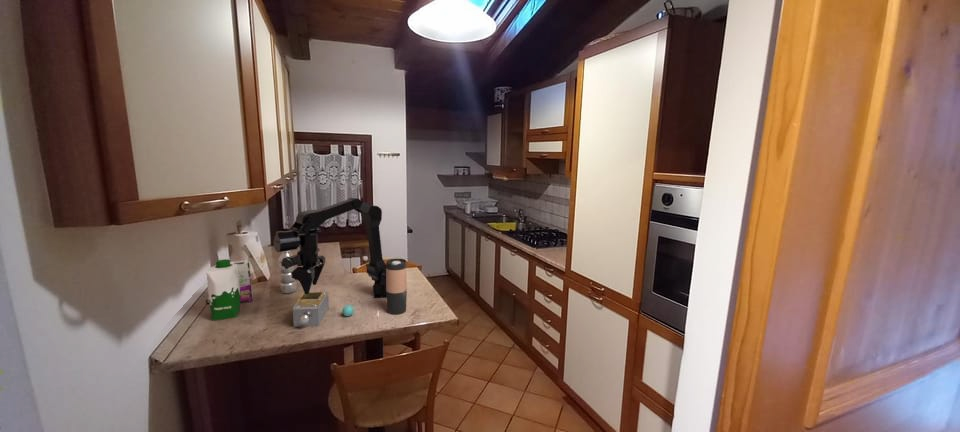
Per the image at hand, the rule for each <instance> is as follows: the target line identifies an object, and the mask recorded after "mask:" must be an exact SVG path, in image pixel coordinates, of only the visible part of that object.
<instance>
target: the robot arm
mask: <svg viewBox="0 0 960 432" xmlns="http://www.w3.org/2000/svg"><path fill="white" fill-rule="evenodd" d="M353 210H354V211H356V212H358V213H359V214H360V215H361V219H362V221H363V222H364V223H363V224H364V225H365V226H366V232H367V241H368V251H369V258H370V260H369V263H365V268H366V274H367V275H368V276H369V277H370V279H371V280H372V281H374V283H373V286H372V295H373V298H376V299H377V298H387V294H386V262H385V261H384V259H383V253H382V243H381V241H382V240H381V234H380V233H381V232H380V224H381V221H382V215H383V211H382V208H380V206H377V205H373V204H370V203H367V202H366V201H363V200H361V199H359V198H357V197H356V198H355V197H350V198H347V199H345V200H342V201H340V202H337V203H334V204H332V205H331V204H330V205H328V206H326V207H323V208H320V209H310V210H303V211H300V212H299V213H297V215H296V217H295V220H294V222H293V224H292V225H291V227H290V228H289V230H283V231H279V230H278V231H275V236H274V239H273V248H274V251H275V252H276V253H282V252H283V251H289V250H292V251H295V250H297V249H298V248H299V251H297V252H296V253H297V254H293V256H290V257H289V256H288V257H286V258H283V259H282V262H281V263H282V264H281V266H283V267H285V269H288V268H289V267H292V266H295V270H294V271H293V272H292V273H291V274H292V278H294V279H295V280H296V281H298V282H299V284H300V285H301V289H302V290H303V293H305V294H309V292H310V291H311V288H312V285H313V286H316V285H317V284H318V281H319V278H320V277H321V274H322V272H323V268H324V266H325V264H326V257H325V256H324V255H319V252H320V247H319V245H318V235H321V234H324V231H323V230H321V229H320V227H319V226H321V225H323V224H324V223H325V222H326V221H327V220H329V219H332V218H334V217H338V216H340V215H342V214H345V213H347V212H350V211H353Z"/></svg>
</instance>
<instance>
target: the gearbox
mask: <svg viewBox="0 0 960 432" xmlns="http://www.w3.org/2000/svg"><path fill="white" fill-rule="evenodd" d="M329 304H330V303H329V291H325V290H323V291H311V292H310V291H309V294H305V293H304V292H303V293H302V294H301V295H300V296H299V298H298V299H297V303H296V304H295V305H294V306H293V307H292V316H293V318H292V319H293V328H306V327H319V326H320V324H321V323H322V321H323V320H324V318H325V316H326V315H327V313H328V311H329V310H330V305H329Z"/></svg>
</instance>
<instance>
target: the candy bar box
mask: <svg viewBox="0 0 960 432" xmlns="http://www.w3.org/2000/svg"><path fill="white" fill-rule="evenodd" d="M230 264H237V267H238V276H239V286H240V299H241V300H240V303H246V302H252V301H253V297H254V296H253V294H254V293H253V286H252V285H253V284H252V275H251V274H252V273H251V265H250V264H251V263H250V259H239V260H230ZM214 266H216V263H215V264H214Z"/></svg>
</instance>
